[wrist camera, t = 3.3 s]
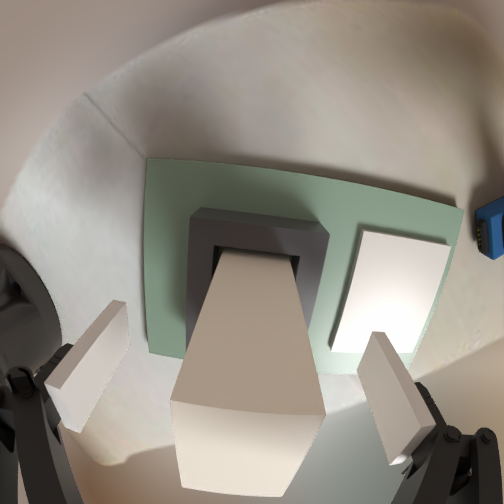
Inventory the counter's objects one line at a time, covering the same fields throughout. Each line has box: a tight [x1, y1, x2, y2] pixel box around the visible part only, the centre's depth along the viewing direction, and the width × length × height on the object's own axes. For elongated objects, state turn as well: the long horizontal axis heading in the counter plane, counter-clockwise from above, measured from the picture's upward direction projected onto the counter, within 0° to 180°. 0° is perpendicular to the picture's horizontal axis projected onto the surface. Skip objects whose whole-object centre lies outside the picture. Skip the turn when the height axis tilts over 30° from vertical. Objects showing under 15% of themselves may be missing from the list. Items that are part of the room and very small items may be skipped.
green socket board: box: [144, 158, 464, 374], centre depth 20 cm, size 24×16×4 cm, turn 83°
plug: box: [170, 247, 326, 497], centre depth 14 cm, size 4×6×14 cm, turn 173°
